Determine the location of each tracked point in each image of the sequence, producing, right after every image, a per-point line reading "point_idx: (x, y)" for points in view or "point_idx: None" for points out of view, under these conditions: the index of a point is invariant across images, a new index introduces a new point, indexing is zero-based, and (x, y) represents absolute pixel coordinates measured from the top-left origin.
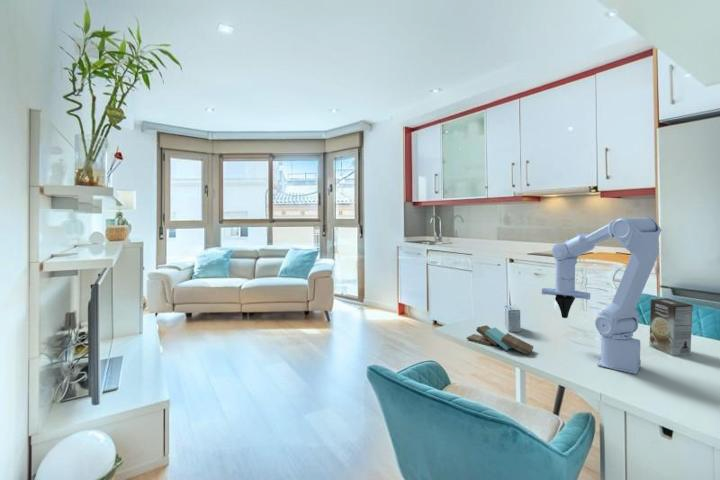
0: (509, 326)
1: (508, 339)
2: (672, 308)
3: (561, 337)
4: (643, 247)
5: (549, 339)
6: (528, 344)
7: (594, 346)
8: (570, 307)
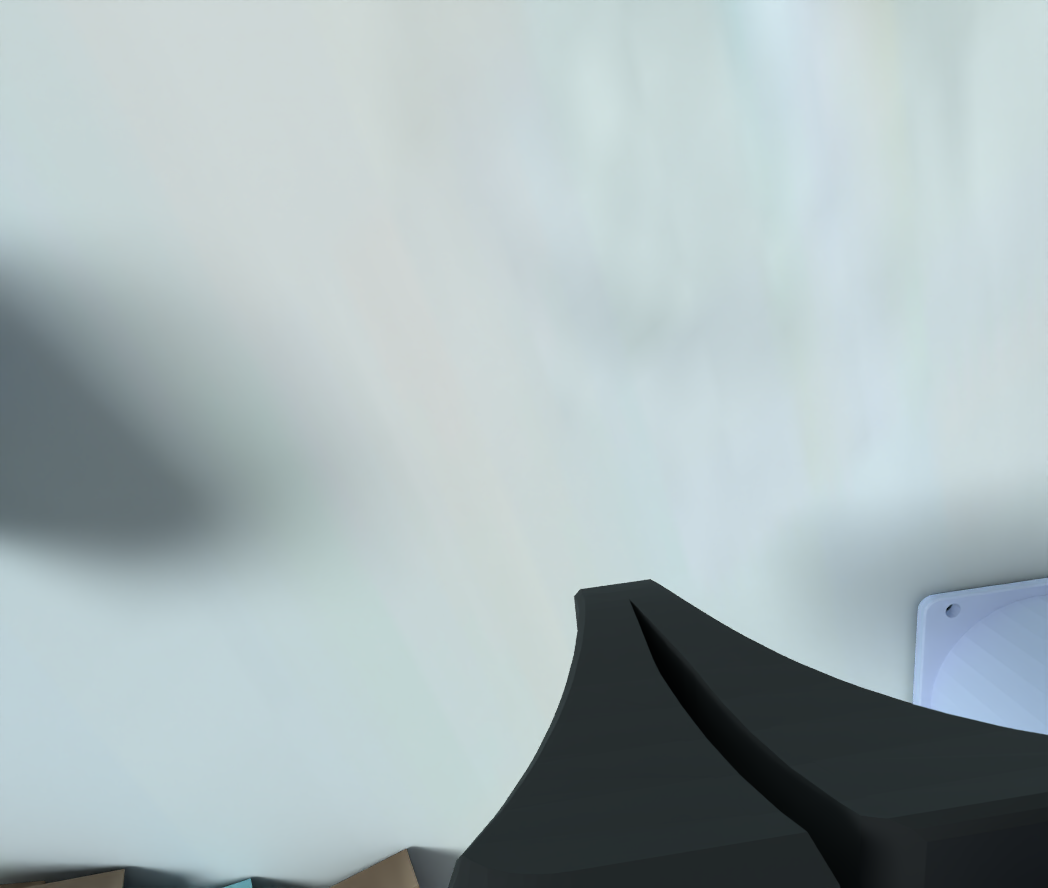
0: None
1: None
2: None
3: (429, 254)
4: None
5: (363, 432)
6: None
7: (804, 319)
8: (787, 666)
